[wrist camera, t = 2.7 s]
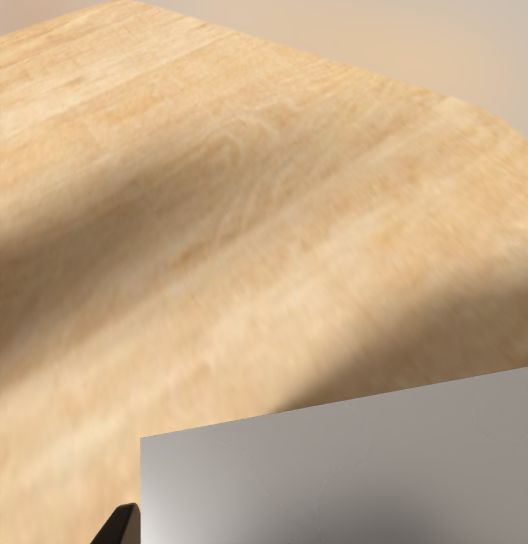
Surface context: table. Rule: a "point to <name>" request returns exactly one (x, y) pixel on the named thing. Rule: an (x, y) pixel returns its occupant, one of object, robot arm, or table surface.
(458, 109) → the table surface
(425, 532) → the plate
